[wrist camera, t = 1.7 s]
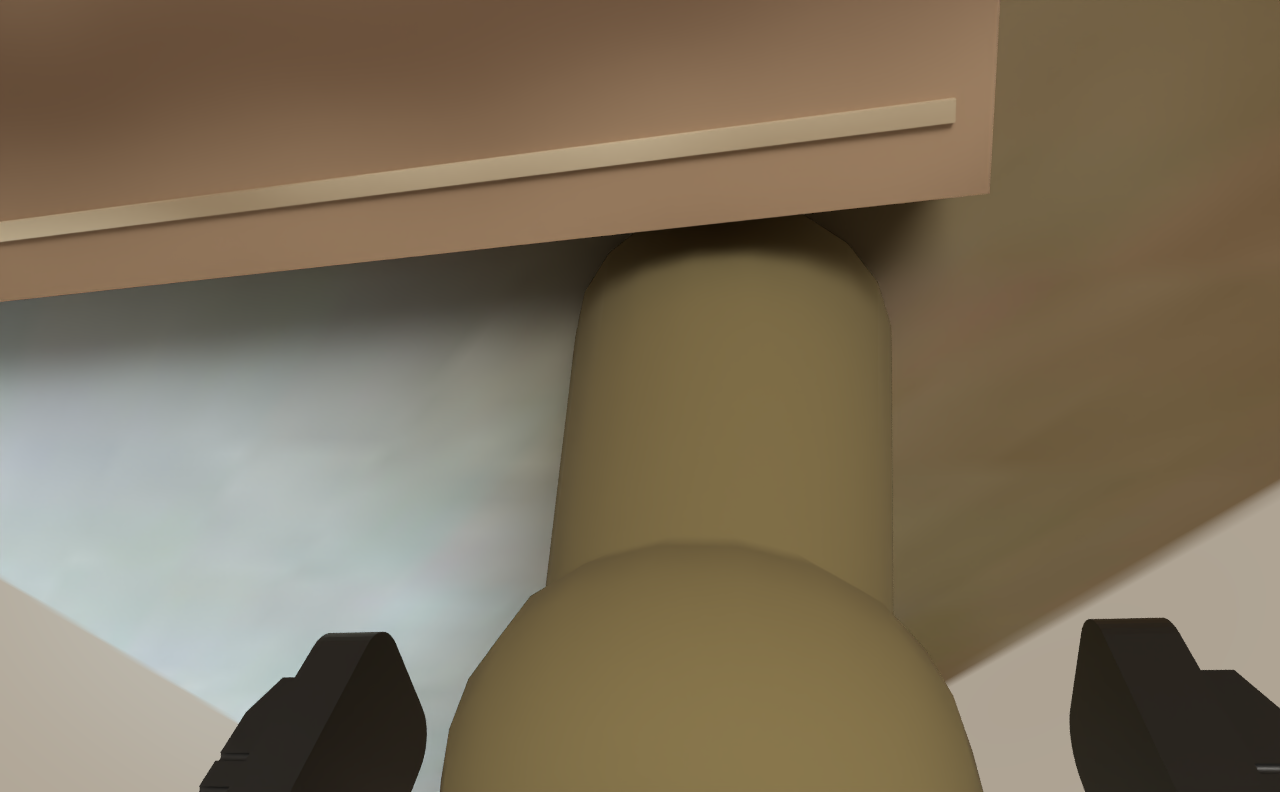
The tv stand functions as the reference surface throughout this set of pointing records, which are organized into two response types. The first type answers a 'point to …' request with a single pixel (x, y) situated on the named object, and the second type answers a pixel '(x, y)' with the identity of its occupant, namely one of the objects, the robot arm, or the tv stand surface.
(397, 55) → the walnut board
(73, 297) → the tv stand surface
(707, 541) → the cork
